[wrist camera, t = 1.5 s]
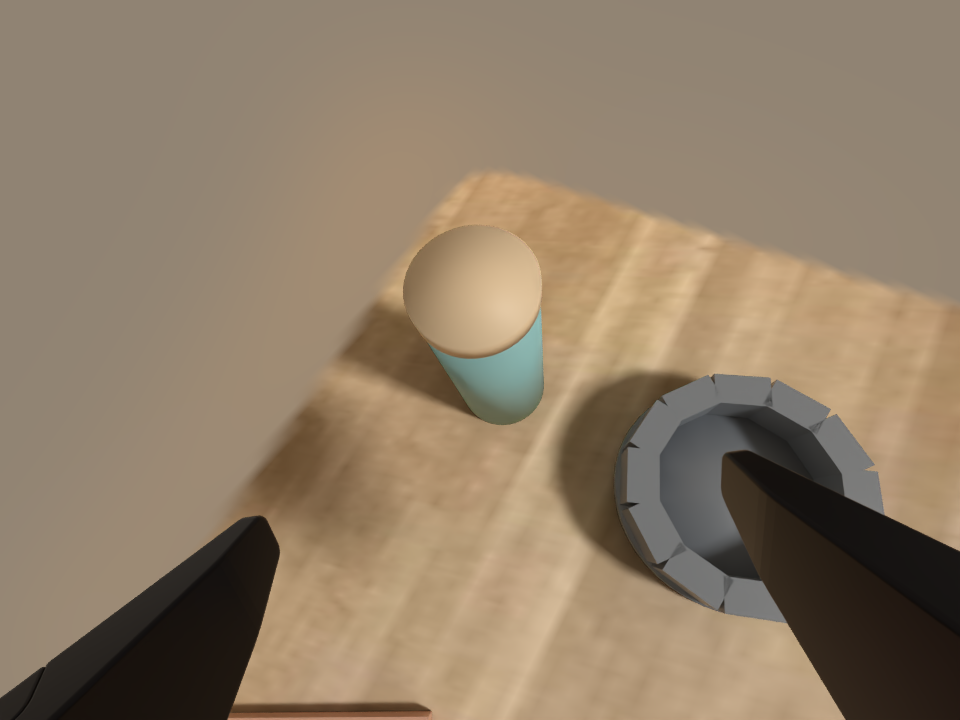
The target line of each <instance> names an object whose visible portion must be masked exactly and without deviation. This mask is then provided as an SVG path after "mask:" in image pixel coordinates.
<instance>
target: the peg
mask: <svg viewBox="0 0 960 720" xmlns="http://www.w3.org/2000/svg"><path fill="white" fill-rule="evenodd" d="M403 299H404V305H405V308H406V311H407V313H408V315H409V317H410V319H411V321H412V323H413V324H414V326H415V327H416V329H417V330H418V332H419V333H420V335H421V336H422V337H423V338H424V339H425V340H426V342H427V343H428V344H429V346H430V347H431V349H432V351H433V352H434V354H435V355H436V357H437V358H438V360H439V361H440V363H441V365H442V366H443V368H444V369H445V371H446V372H447V374H448V375H449V377H450V379H451V380H452V382H453V383H454V385H455V386H456V388H457V390H458V391H459V393H460V394H461V396H462V397H463V399H464V400H465V402H466V404H467V405H468V407H469V408H470V409H471V411H472V412H473V413H474V414H475V415H476V416H478V417H479V418H480V419H482V420H484V421H486V422H489V423H492V424H497V425H507V424H513V423H516V422H519V421H521V420H523V419H525V418H526V417H527V416H529V415H530V414H531V413H532V412H533V411H534V410H535V409H536V407H537V406H538V404H539V402H540V400H541V398H542V395H543V389H544V376H543V350H542V324H541V302H542V278H541V271H540V267H539V264H538V261H537V259H536V257H535V255H534V253H533V252H532V250H531V249H530V248H529V247H528V245H527V244H526V243H525V242H524V241H522V240H521V239H520V238H519V237H517V236H516V235H514V234H513V233H511V232H509V231H506V230H504V229H501V228H498V227H494V226H488V225H468V226H462V227H458V228H454V229H452V230H449V231H446V232H444V233H442V234H440V235H438V236H437V237H435V238H434V239H432V240H431V241H430V242H428V243H427V244H426V245H425V246H424V247H423V248H422V249H421V250H420V251H419V252H418V253H417V255H416V256H415V257H414V259H413V260H412V262H411V264H410V265H409V268H408V270H407V272H406V276H405V279H404V286H403Z"/></svg>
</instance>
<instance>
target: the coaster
mask: <svg viewBox="0 0 960 720" xmlns="http://www.w3.org/2000/svg"><path fill="white" fill-rule="evenodd" d="M228 720H432V711H394V712H271V713H230V714H229V717H228Z"/></svg>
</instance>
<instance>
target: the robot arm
mask: <svg viewBox="0 0 960 720" xmlns="http://www.w3.org/2000/svg"><path fill="white" fill-rule="evenodd" d="M721 493H722V496H723V499H724V502H725V504H726V506H727V508H728V510H729V513H730V515H731V517H732V519H733V521H734V523H735V525H736V528H737V530H738V532H739V534H740V536H741V538H742V540H743V543H744V545H745V547H746V549H747V551H748V553H749V556H750V558H751V560H752V562H753V564H754V566H755V568H756V570H757V572H758V574H759V576H760V578H761V580H762V582H763V583H764V585H765V587H766V589H767V590H768V592H769V594H770V595H771V597H772V599H773V600H774V602H775V604H776V605H777V607H778V609H779V610H780V612H781V613H782V615H783V617H784V618H785V620H786V622H787V623H788V625H789V627H790V628H791V630H792V632H793V633H794V635H795V637H796V638H797V640H798V642H799V643H800V645H801V647H802V648H803V650H804V652H805V653H806V655H807V657H808V658H809V660H810V662H811V663H812V665H813V667H814V668H815V670H816V672H817V673H818V675H819V677H820V678H821V680H822V681H823V683H824V685H825V686H826V688H827V690H828V691H829V693H830V695H831V696H832V698H833V700H834V701H835V703H836V705H837V706H838V708H839V710H840V711H841V713H842V715H843V716H844V718H845V720H960V551H958V550H956V549H954V548H952V547H950V546H948V545H946V544H943V543H941V542H939V541H937V540H935V539H933V538H931V537H929V536H927V535H925V534H923V533H921V532H918V531H916V530H914V529H912V528H910V527H908V526H906V525H904V524H902V523H900V522H898V521H896V520H894V519H891V518H889V517H887V516H885V515H883V514H881V513H879V512H877V511H875V510H873V509H871V508H869V507H866V506H864V505H862V504H860V503H858V502H856V501H854V500H852V499H850V498H848V497H846V496H844V495H841V494H839V493H837V492H835V491H833V490H831V489H829V488H827V487H825V486H823V485H821V484H819V483H816V482H814V481H812V480H810V479H808V478H806V477H804V476H802V475H800V474H798V473H796V472H794V471H791V470H789V469H787V468H785V467H783V466H781V465H779V464H777V463H775V462H773V461H771V460H769V459H766V458H764V457H762V456H760V455H758V454H756V453H754V452H752V451H749V450H737V451H730V452H726V453H724V454H723V457H722V468H721ZM279 555H280V549H279V544H278V542H277V540H276V538H275V536H274V534H273V532H272V530H271V527H270V525H269V523H268V521H267V520H266V518H264V517H263V516H252V517H245V518H242V519H240V520H239V521H237V522H236V523H235V524H233V525H232V526H231V527H229V528H228V529H227V530H225V531H224V532H223V533H221V534H220V535H218V536H217V537H216V538H214V539H213V540H212V541H210V542H209V543H208V544H206V545H205V546H204V547H202V548H201V549H200V550H198V551H197V552H196V553H194V554H193V555H192V556H190V557H189V558H188V559H186V560H185V561H184V562H182V563H181V564H180V565H178V566H177V567H176V568H174V569H173V570H172V571H170V572H169V573H168V574H166V575H165V576H164V577H162V578H161V579H160V580H158V581H157V582H156V583H154V584H153V585H152V586H150V587H149V588H148V589H146V590H145V591H144V592H142V593H141V594H140V595H138V596H137V597H135V598H134V599H133V600H131V601H130V602H129V603H128V604H126V605H125V606H124V607H122V608H121V609H119V610H118V611H117V612H115V613H114V614H113V615H111V616H110V617H109V618H108V619H106V620H105V621H103V622H102V623H101V624H99V625H98V626H97V627H95V628H94V629H93V630H91V631H90V632H89V633H87V634H86V635H85V636H83V637H82V638H81V639H79V640H78V641H77V642H75V643H74V644H73V645H71V646H70V647H69V648H67V649H66V650H65V651H63V652H62V653H60V654H59V655H58V656H57V657H55V658H54V659H52V660H51V661H50V662H49V663H48V664H47V665H46V667H42V668H40V669H39V670H38V671H36V672H35V673H33V674H32V675H31V676H29V677H28V678H27V679H25V680H24V681H23V682H21V683H20V684H19V685H17V686H16V687H15V688H13V689H12V690H11V691H9V692H8V693H7V694H5V695H4V696H3V697H1V698H0V720H228V717H229V714H230V711H231V709H232V706H233V703H234V701H235V698H236V695H237V692H238V690H239V687H240V684H241V681H242V679H243V676H244V673H245V671H246V668H247V665H248V662H249V660H250V657H251V654H252V651H253V649H254V646H255V643H256V640H257V637H258V634H259V631H260V628H261V624H262V621H263V617H264V613H265V610H266V606H267V602H268V598H269V594H270V591H271V587H272V583H273V579H274V575H275V572H276V568H277V564H278V560H279Z"/></svg>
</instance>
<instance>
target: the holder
mask: <svg viewBox="0 0 960 720" xmlns="http://www.w3.org/2000/svg"><path fill="white" fill-rule="evenodd" d="M830 410H831V409H830V408H828V407H826V406H824V405H822V404H820V403H819V402H817V401H815V400H813V399H811V398H809V397H808V396H806V395H804V394H802V393H800V392H799V391H797V390H795V389H793V388H791V387H789V386H788V385H786V384H784V383H782V382H780V381H778V380H776V381H774V382H773V383H772V384H771V379H770V378H766V377H752V376H738V375H724V374H714V375H713V376H712V377H711V378H710V377H709V375H707V376H705V377H702V378H700V379H698V380H696V381H694V382H691V383H689V384H687V385H685V386H682V387H680V388H678V389H676V390H674V391H671V392H669V393H667V394H665V395H663V396H661V397H660V399H659V400H657V401H656V402H655V403H654V404H653V405H652V406H651V407H650V408H648V409H647V410H646V411H645V412H644V413H643V414H642V415H641V416H640V417H639V418H638V420H637V421H636V422H635V423H634V425H633V426H632V427H631V429H630V430H629V431H628V433H627V435H626V437H625V439H624V440H623V442H622V445H621V447H620V450H619V453H618V456H617V460H616V464H615V471H614V496H615V502H616V508H617V512H618V515H619V519H620V522H621V525H622V527H623V529H624V531H625V534H626V536H627V538H628V540H629V541H630V543H631V545H632V547H633V548H634V550H635V552H636V553H637V554H638V556H639V557H640V558H641V560H642V561H643V562H644V564H645V565H646V566H647V567H648V568H649V569H650V570H651V571H652V572H653V573H654V574H655V575H656V576H657V577H658V578H659V579H660V580H662V581H663V582H664V583H665V584H666V585H668V586H669V587H670V588H672V589H673V590H675V591H676V592H678V593H679V594H681V595H682V596H684V597H686V598H688V599H690V600H692V601H694V602H696V603H698V604H700V605H702V606H705V607H708V608H710V609H713V610H716V611H719V612H723V613H725V614H731V615H736V616H744V617H750V618H757V619H763V620H770V621H776V622H783V623H787V622H786V620H785V618H784V617H783V615H782V613H781V612H780V610H779V609H778V607H777V605H776V604H775V602H774V600H773V599H772V597H771V595H770V594H769V592H768V590H767V589H766V587H765V585H764V583H763V582H762V580H761V578H760V576H759V574H758V572H757V570H756V568H755V566H754V564H753V562H752V560H751V558H750V556H749V553H748V551H747V549H746V547H745V545H744V543H743V540H742V538H741V536H740V534H739V532H738V530H737V528H736V525H735V523H734V521H733V519H732V517H731V515H730V513H729V510H728V508H727V506H726V504H725V502H724V499H723V496H722V493H721V468H722V457H723V454H724V453H726V452H730V451H737V450H749V451H752V452H754V453H756V454H758V455H760V456H762V457H764V458H766V459H769V460H771V461H773V462H775V463H777V464H779V465H781V466H783V467H785V468H787V469H789V470H791V471H794V472H796V473H798V474H800V475H802V476H804V477H806V478H808V479H810V480H812V481H814V482H816V483H819V484H821V485H823V486H825V487H827V488H829V489H831V490H833V491H835V492H837V493H839V494H841V495H844V496H846V497H848V498H850V499H852V500H854V501H856V502H858V503H860V504H862V505H864V506H866V507H869V508H871V509H873V510H875V511H877V512H879V513H881V514H883V515H884V508H883V502H882V495H881V489H880V482H879V476H878V472H875V471H865V469H867V468H869V467H871V466H873V465H875V464H874V463H873V462H872V460H871V459H870V458H869V457H868V455H867V454H866V453H865V451H864V450H863V449H862V447H861V446H860V445H859V443H858V442H857V441H856V439H855V438H854V437H853V435H852V434H851V433H850V431H849V430H848V429H847V427H846V426H845V425H844V423H843V422H842V421H841V419H840V418H839V417H838V415H837V414H836V415H833V416H831V417H828V418H826V417H827V415H828V414H829V412H830Z"/></svg>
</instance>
